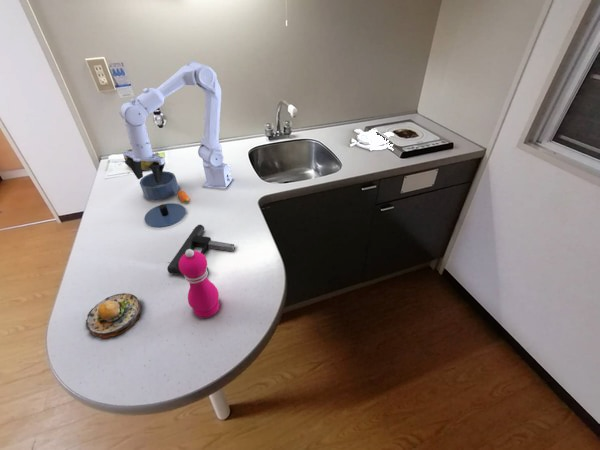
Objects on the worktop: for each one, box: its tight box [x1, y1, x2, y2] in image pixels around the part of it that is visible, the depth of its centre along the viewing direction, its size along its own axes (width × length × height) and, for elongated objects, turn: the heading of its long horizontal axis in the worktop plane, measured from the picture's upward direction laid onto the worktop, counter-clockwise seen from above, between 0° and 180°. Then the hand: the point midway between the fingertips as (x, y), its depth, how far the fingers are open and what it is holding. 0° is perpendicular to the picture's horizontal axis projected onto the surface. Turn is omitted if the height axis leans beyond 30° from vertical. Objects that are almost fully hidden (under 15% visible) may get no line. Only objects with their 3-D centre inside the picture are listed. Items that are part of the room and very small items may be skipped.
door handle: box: [166, 224, 236, 276], centre depth 92 cm, size 3×20×16 cm
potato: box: [123, 148, 153, 171], centre depth 134 cm, size 8×13×8 cm, turn 60°
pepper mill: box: [179, 249, 220, 319], centre depth 71 cm, size 7×7×20 cm
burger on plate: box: [85, 292, 143, 339], centre depth 73 cm, size 12×12×8 cm
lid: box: [144, 202, 187, 228], centre depth 106 cm, size 14×14×5 cm
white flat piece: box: [349, 128, 395, 152], centre depth 159 cm, size 21×28×1 cm
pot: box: [139, 170, 180, 202], centre depth 118 cm, size 13×13×6 cm
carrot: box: [176, 189, 190, 204], centre depth 115 cm, size 8×3×3 cm, turn 33°
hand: (149, 179), depth 107 cm, fingers open, 7 cm apart
